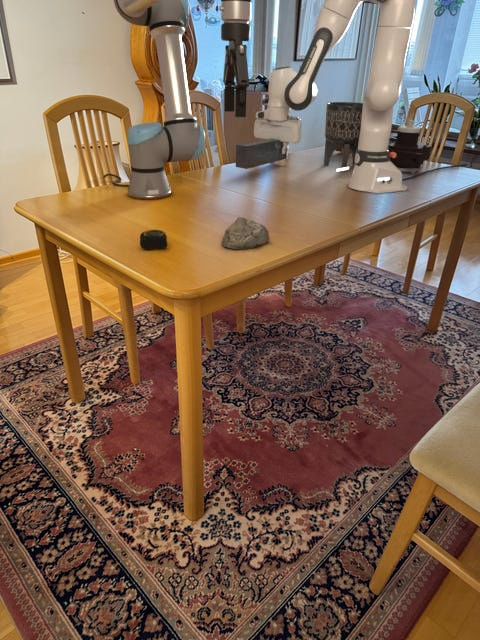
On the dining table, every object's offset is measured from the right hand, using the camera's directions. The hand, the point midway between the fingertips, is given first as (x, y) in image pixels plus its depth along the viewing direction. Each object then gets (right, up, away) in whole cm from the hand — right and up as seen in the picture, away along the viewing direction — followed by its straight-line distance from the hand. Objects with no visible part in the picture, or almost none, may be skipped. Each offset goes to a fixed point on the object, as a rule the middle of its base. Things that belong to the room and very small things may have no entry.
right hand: (275, 152), depth 181 cm
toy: (+42, +22, +60) cm, 77 cm away
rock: (-12, -47, -60) cm, 77 cm away
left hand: (-16, -10, -55) cm, 58 cm away
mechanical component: (+63, +3, +28) cm, 69 cm away
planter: (+33, +4, +29) cm, 44 cm away
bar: (-6, -6, -5) cm, 10 cm away
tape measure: (-36, -49, -64) cm, 88 cm away
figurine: (+3, +5, +31) cm, 31 cm away
